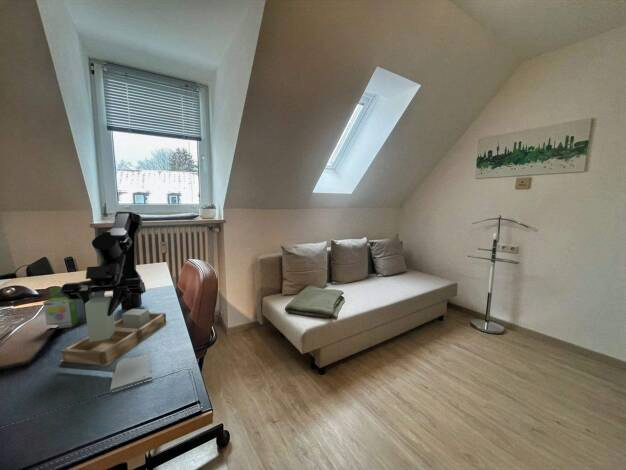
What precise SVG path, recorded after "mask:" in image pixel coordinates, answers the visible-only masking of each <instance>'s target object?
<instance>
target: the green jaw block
mask: <svg viewBox="0 0 626 470" xmlns="http://www.w3.org/2000/svg"><path fill="white" fill-rule="evenodd" d="M112 296H113V295H108V296H105V297H95V298H92V299H91V300H89V301H88V302H87V303H85V311H86V318H85V319H86V326H87V335H88V336H89V342H92V341H99V340H106V339H110V337H111V336H112V335H113V334H114V332H115V322H116V320H115V313H114V312H115V311H114V312H113V313H112V315H111V316H108V315H107V314H108V309H109V306H110V303H111V299H112ZM88 336H87V337H88Z"/></svg>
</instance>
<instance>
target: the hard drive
mask: <svg viewBox="0 0 626 470" xmlns="http://www.w3.org/2000/svg"><path fill="white" fill-rule="evenodd" d="M149 361H150V360H149V355H148V354H144V355H141V356H137V357H125V358H122V359H120V360H119V362H117V364H116V367H115V371H113V374H112V378H111V384H110V388H109V393H110V392H112V391H115V390H118V389H121V388H125V387H128V386H131V385H135V384H137V383H140V382H144V381H146V380H149V379H152V380H153V371H152V370H151V371H150V363H149Z"/></svg>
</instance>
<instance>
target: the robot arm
mask: <svg viewBox="0 0 626 470" xmlns="http://www.w3.org/2000/svg"><path fill="white" fill-rule="evenodd" d="M141 226H143V218H142V216H141V214H138V213H134V212H133V211H131V210H118V211H116V212H115V215H114V221H113V225H112V226H111V229H110V230H108V231H102V234H100V235H97V236H96V237H94V238H93V240H92V241H91V245H92V248H93V249H94V251H95V252H96V254H97V257H98V258H99V259H100V260H101V261H100V264H99V266H98V265H97V266H88V267H86V271H85V272H86V273H85V279H86V280H90V282H91V283H94V286H88V285H85V286H84V285H83V284H82V283H81V282H82V281H79V282H67V283H64V284H63V285H62V286H61V287H62V288H61V287H60V288H61V290H60V291H59V293H62V294H63V295H64V296H66V297H67V298H68V299H70V300H77V299H82V300H83V303H84V309H85V303H87V302H88V301H89V300H91V299H92V298H95V297H94V296H93V294H94V292H105V293H106V292H112V295H111V296H112V299H111V303H110V306H109V309H108V314H107V315H108V316H111V315H112V313H113V312H115V311H116V309H117V308H118V307H119V306H121V311H129V310H131V309H138V308H139V307H140V306H141V305H142V304H143V302H142V295H143V294H144V293H146V285H145V282H144V281H143V279H142V277H141V275H140V274H139V272H138V271H137V236H138V235H139V233H140V232H141V230H142V229H141V228H142V227H141ZM85 315H86V311H85Z"/></svg>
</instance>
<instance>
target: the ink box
mask: <svg viewBox="0 0 626 470" xmlns="http://www.w3.org/2000/svg"><path fill="white" fill-rule="evenodd" d="M61 288H62V286H61V287H50V288H49V291H50V292H49V293H50V298H49V299H47V300H45V301H43V302H42V306H43V311H44V317H45V323H46V326H47V325H58V326H59V328H58V329H66V328H73V327H75V325H77V324H78V323H79V318H78V314H77V306H76V300H70V299H68V298H67V297H66V296H64V295H63V294H62V293H61V292H60V290H61Z"/></svg>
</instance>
